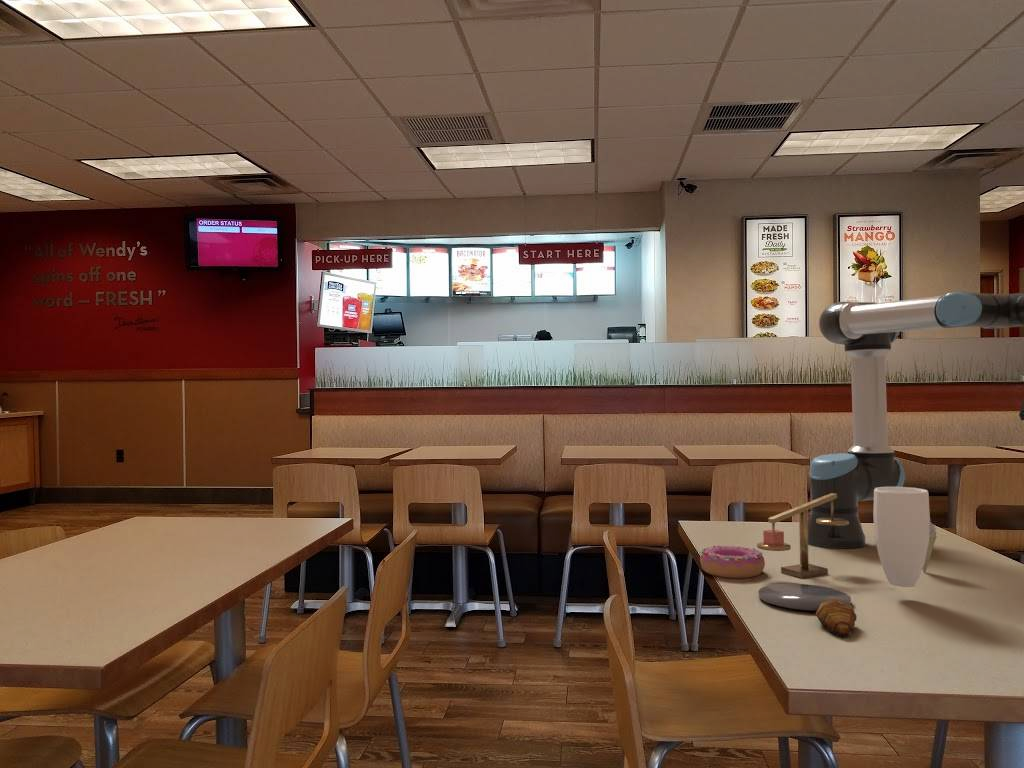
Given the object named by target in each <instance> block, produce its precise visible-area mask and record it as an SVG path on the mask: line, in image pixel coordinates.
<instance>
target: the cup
mask: <svg viewBox="0 0 1024 768" xmlns="http://www.w3.org/2000/svg"><path fill="white" fill-rule="evenodd" d="M929 498H930V496H929V491H928V489H924V488H918V487H911V486H910V487H908V486H902V487H878V488H875V489H874V500H873V510H872V511H873V515H872V516H873V528H874V531H873V532H874V540H875V545H876V549H877V553H878V557H879V561H880V564H881V566H882V570H883V572H884V575H885V577H886V579H887V581H888V583H889V584H890V585H891V586H895V587H900V588H914V587H915V586H916V585H917V583H918V581H919V579H920V577H921V574H922V571H923V569H922V568H923V566H924V563H925V558H926V553H927V548H928V544H929V526H930V521H931V519H930V518H931V517H930V514H931V513H930V499H929Z"/></svg>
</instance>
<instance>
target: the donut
mask: <svg viewBox="0 0 1024 768" xmlns="http://www.w3.org/2000/svg"><path fill="white" fill-rule="evenodd" d="M699 554H700V557H699V562H700V567H701V568H702V570H703V571H704V572H705V573H706V574H709V575H711V576H714V577H720V578H727V579H746V578H753V577H757V576H759V575H761V574H762V572H763V571H764V569H765V564H766V561H765V558H764V556H763V555H764V554H763V552H761V551H759V550H758V549H755V548H751V547H748V546H747V547H745V546H744V547H743V546H740V545H739V546H734V545H723V546H722V545H713V546H709V547H705V548H703V549H702V550H701V551H700V552H699Z"/></svg>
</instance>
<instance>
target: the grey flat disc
mask: <svg viewBox="0 0 1024 768" xmlns="http://www.w3.org/2000/svg"><path fill="white" fill-rule="evenodd" d="M757 595H758V597H759V598H760V599H761V600H762V601H764V602H766V603H768V604H772V605H773V606H778V607H783V608H788V609H792V610H793V609H794V610H802V611H803V610H804V611H813V612H814V611H816V612H817V610H818V608H819V606H820V604H821V603H823V602H827V601H830V600H834V599H837V600H839V601H842V602H844V603H846V604H849V605H851V603H852V598H851V596H850V595H849V594H847V593H846V592H844V591H840V590H838V589H835V588H831V587H827V586H823V585H815V584H807V583H776V584H770V585H766V586H763V587H761V588H759V589H758V594H757Z"/></svg>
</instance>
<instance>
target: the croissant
mask: <svg viewBox="0 0 1024 768" xmlns="http://www.w3.org/2000/svg"><path fill="white" fill-rule="evenodd" d="M815 615H816V617H817V618H818V620H819V623H820V624H821V625H822V626H823V627H825V628H827V629H828V631H830V632H831V633H832V634H834V635H836V636H837V635H838V636H841V637H849V636H850V634H851V633H852V630H853V629H854V627H855V625H856V623H855V622H856V621H857V614H856V612H855V610H854V609H853V606H852V605H851V604H850V605H849V604H846V603H844V602H842V601H839V600H837V599H834V600H830V601H827V602H823V603H821V604H820V606H819V608H818V610H817V611H816V612H815Z"/></svg>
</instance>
